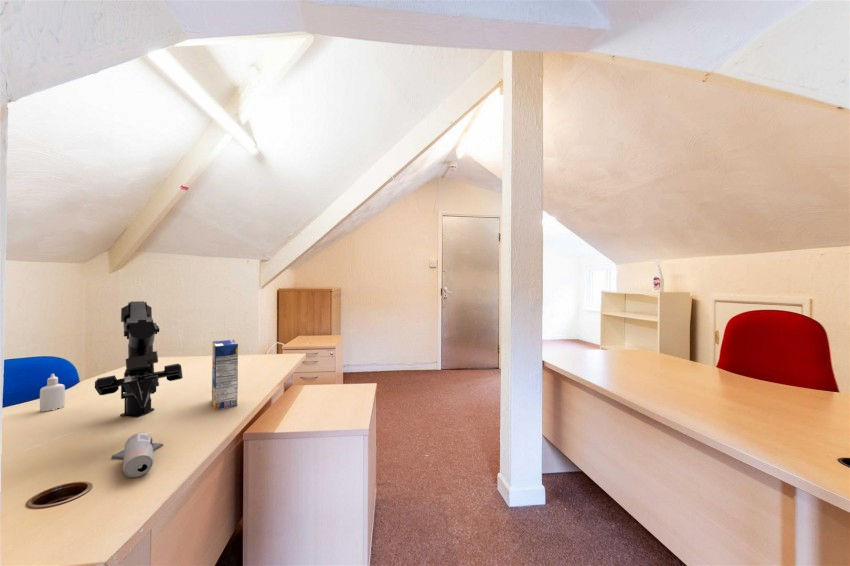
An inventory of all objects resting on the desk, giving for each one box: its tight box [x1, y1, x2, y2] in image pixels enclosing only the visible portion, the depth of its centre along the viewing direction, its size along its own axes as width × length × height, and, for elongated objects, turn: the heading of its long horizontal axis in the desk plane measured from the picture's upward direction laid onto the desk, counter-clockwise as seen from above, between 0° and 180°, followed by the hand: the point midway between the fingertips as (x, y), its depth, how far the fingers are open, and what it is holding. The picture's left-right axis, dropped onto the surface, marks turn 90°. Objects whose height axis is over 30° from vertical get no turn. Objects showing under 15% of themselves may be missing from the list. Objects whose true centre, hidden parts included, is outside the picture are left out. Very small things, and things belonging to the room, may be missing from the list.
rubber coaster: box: [111, 442, 164, 460], centre depth 88 cm, size 7×7×1 cm
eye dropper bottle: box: [39, 373, 66, 413], centre depth 115 cm, size 4×6×12 cm
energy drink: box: [122, 432, 155, 478], centre depth 81 cm, size 5×5×12 cm
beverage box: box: [211, 339, 239, 411], centre depth 123 cm, size 7×11×22 cm, turn 37°
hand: (142, 407), depth 93 cm, fingers closed
